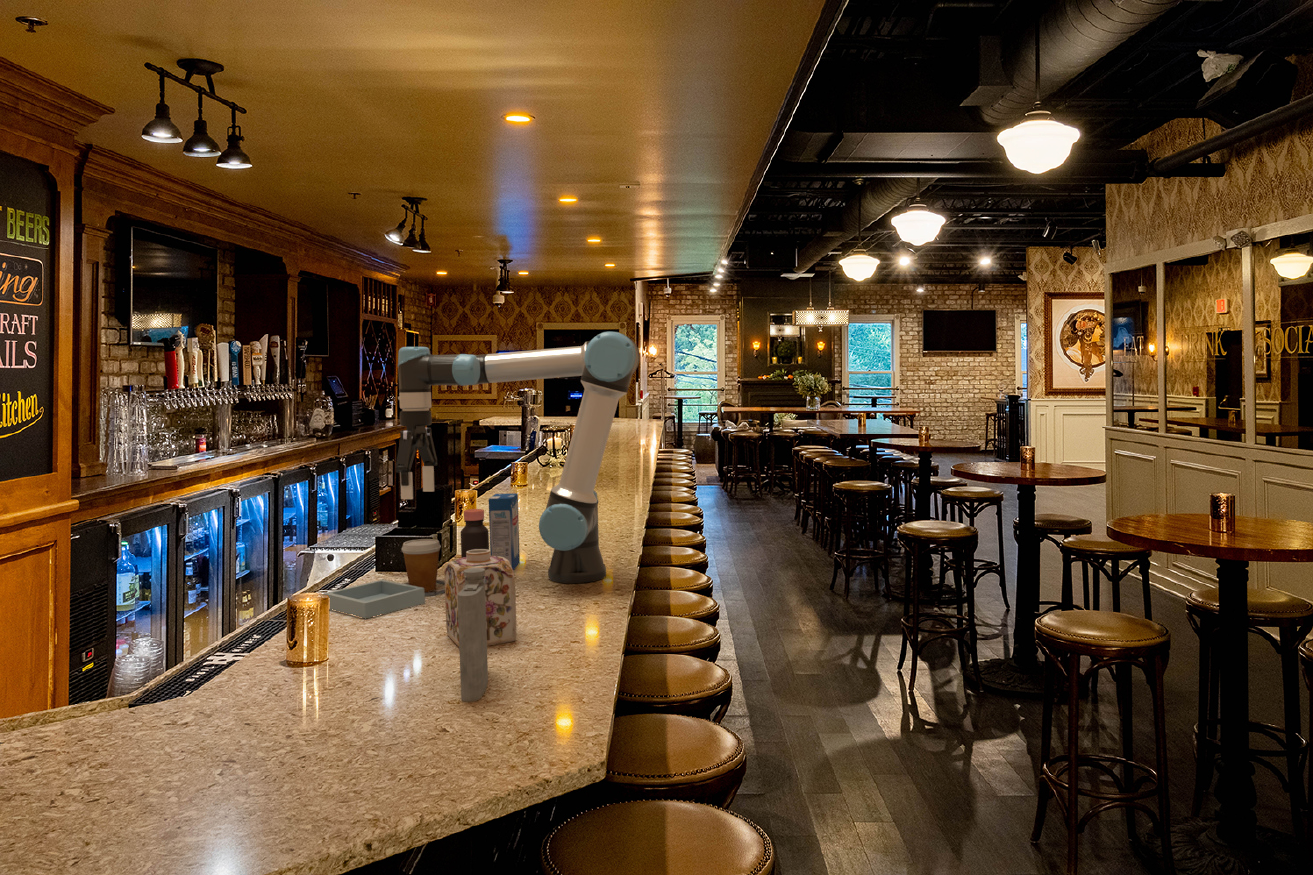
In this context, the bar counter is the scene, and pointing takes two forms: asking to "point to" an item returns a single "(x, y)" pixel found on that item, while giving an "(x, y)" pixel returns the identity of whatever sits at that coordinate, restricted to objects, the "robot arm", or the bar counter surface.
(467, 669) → the hip flask
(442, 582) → the collar
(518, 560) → the milk carton
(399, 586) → the bin
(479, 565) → the decorative jar
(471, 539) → the bottle
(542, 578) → the bar counter surface
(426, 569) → the disposable coffee cup
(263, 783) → the bar counter surface
